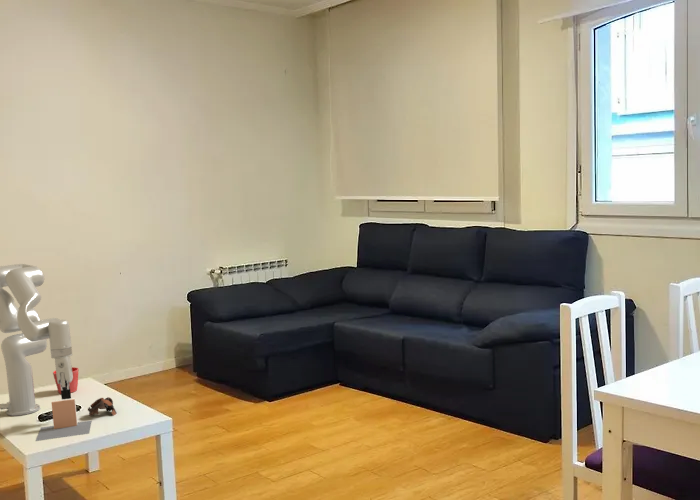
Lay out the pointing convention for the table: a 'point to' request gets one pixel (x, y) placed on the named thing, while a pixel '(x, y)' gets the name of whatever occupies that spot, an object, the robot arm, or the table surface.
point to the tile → (64, 413)
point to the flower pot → (73, 383)
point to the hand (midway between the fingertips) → (66, 399)
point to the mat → (64, 431)
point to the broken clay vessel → (102, 406)
